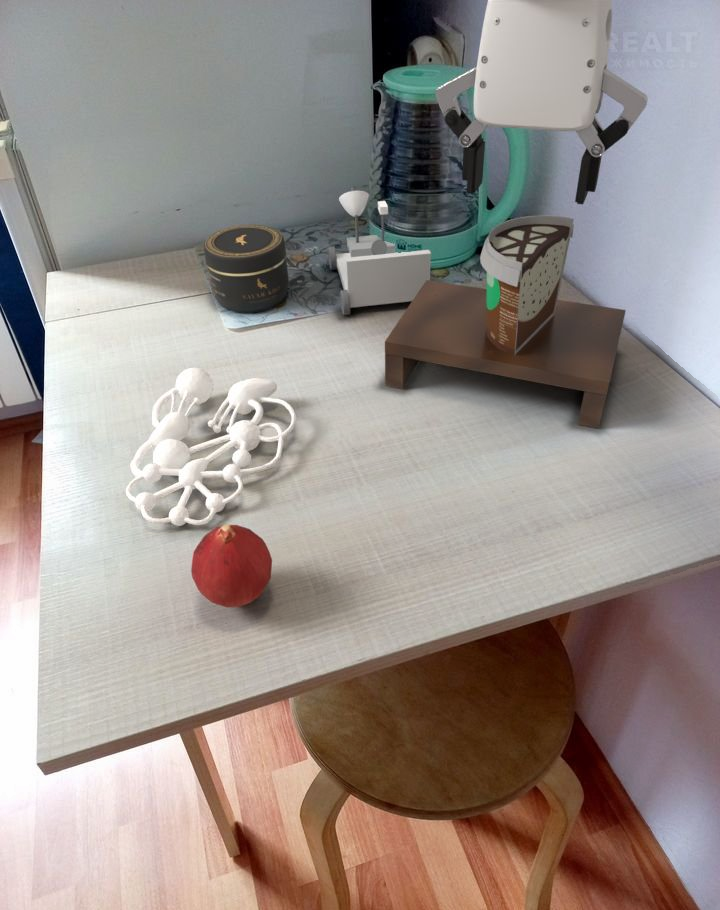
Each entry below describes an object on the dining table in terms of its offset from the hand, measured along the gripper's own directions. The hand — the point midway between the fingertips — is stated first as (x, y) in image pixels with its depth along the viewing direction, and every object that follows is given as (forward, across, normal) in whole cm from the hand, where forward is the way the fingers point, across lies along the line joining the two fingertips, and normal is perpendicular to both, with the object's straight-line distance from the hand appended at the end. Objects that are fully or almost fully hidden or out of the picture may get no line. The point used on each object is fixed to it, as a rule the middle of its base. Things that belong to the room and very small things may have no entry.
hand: (526, 193), depth 64 cm
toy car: (+19, +21, -16) cm, 32 cm away
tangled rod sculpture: (+19, +23, +22) cm, 37 cm away
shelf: (+19, +1, 0) cm, 19 cm away
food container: (+14, 0, 0) cm, 14 cm away
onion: (+20, +13, +36) cm, 43 cm away
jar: (+19, +35, -6) cm, 40 cm away
